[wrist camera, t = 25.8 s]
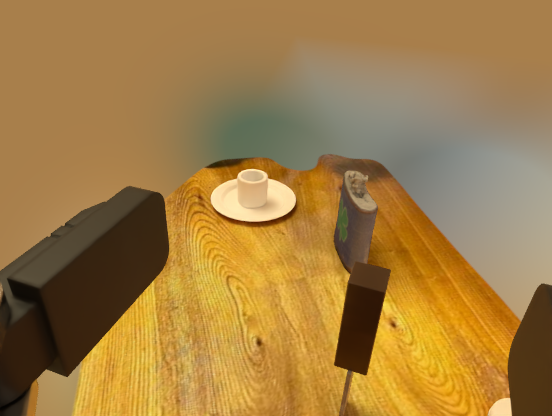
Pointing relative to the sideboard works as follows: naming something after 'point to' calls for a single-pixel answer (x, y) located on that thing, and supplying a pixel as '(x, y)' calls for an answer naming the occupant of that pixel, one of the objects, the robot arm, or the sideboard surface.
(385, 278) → the knife
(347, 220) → the flask
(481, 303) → the sideboard surface
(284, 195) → the candle holder
